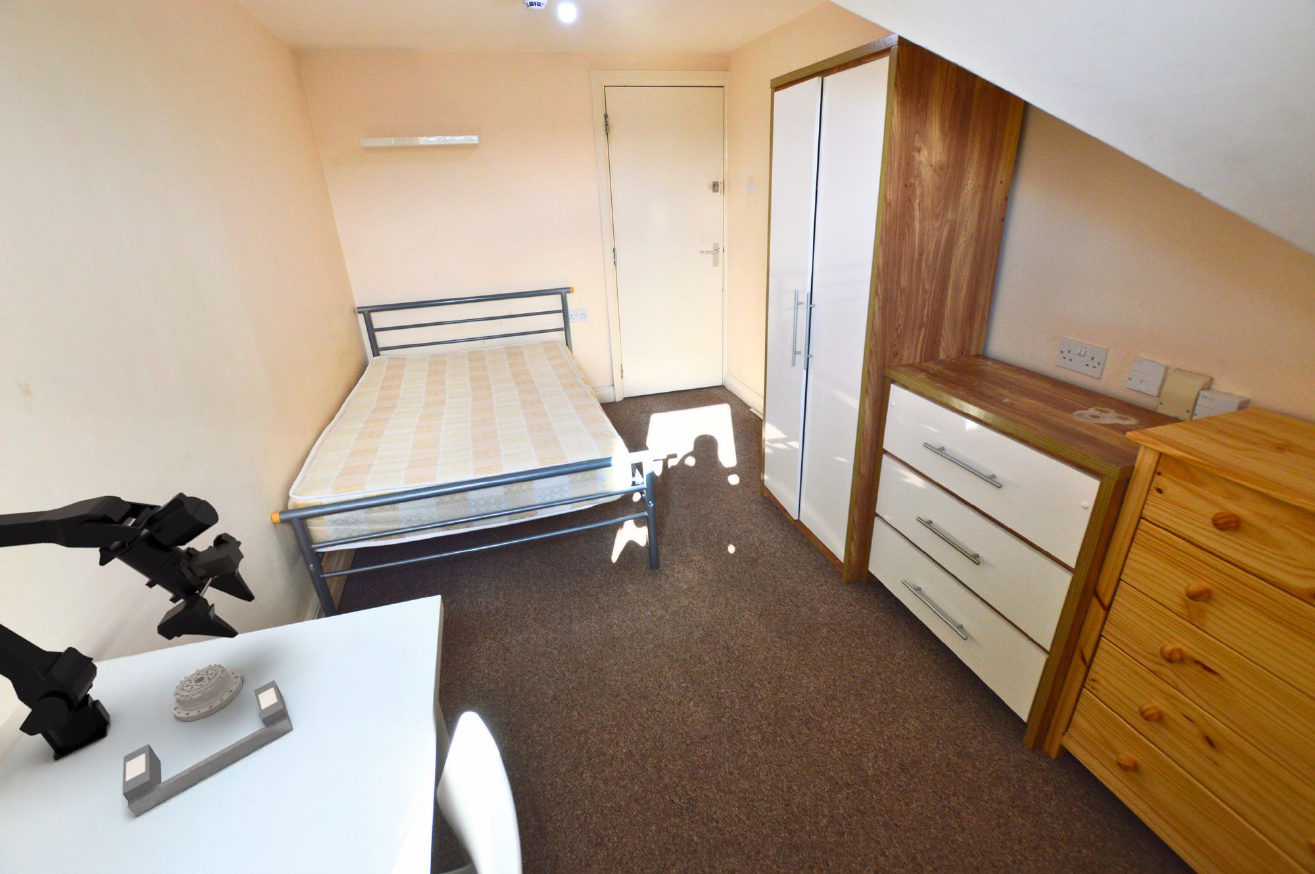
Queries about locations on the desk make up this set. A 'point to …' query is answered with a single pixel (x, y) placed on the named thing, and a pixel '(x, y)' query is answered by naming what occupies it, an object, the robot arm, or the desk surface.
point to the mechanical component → (205, 692)
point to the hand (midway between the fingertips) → (244, 617)
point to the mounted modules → (146, 766)
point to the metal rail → (208, 766)
